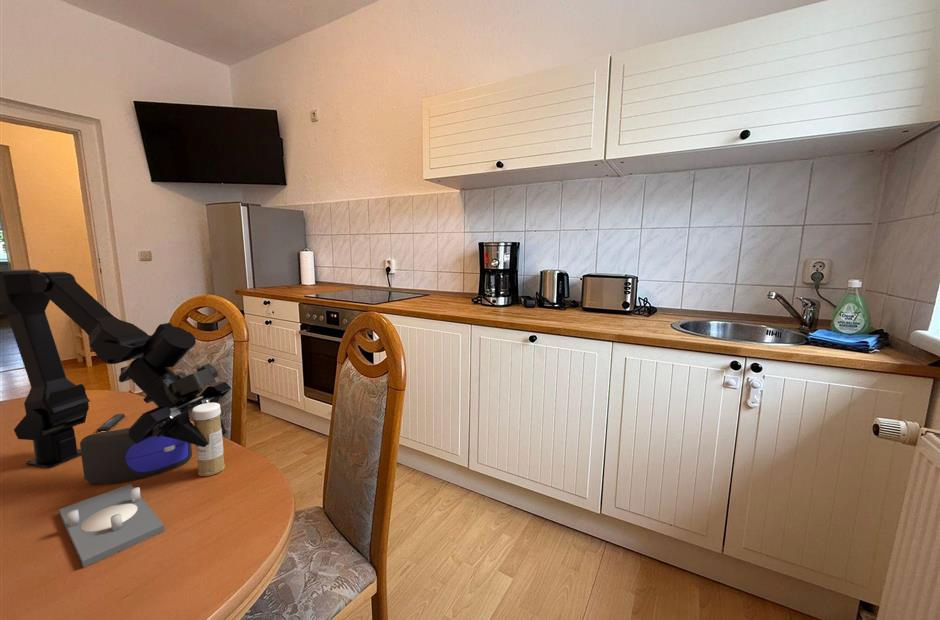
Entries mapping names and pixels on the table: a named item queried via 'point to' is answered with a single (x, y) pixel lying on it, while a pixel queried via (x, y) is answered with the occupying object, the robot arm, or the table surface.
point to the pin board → (109, 523)
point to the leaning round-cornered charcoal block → (130, 456)
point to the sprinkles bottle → (209, 438)
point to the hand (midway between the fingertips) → (215, 439)
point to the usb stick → (111, 422)
